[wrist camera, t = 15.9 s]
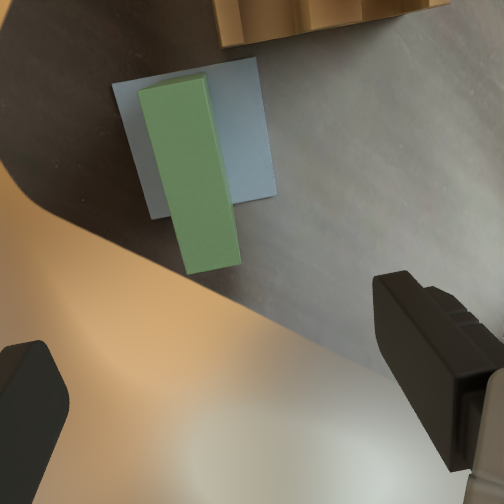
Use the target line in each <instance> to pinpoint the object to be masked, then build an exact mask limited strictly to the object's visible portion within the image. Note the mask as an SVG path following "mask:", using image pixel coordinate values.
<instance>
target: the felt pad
mask: <svg viewBox="0 0 504 504" xmlns="http://www.w3.org/2000/svg"><path fill="white" fill-rule="evenodd" d="M201 72H206V75H207V80H208V85H209V89H210V94H211V99H212V104H213V109H214V114H215V119H216V124H217V129H218V134H219V138H220V143H221V148H222V153H223V158H224V163H225V168H226V173H227V178H228V182H229V187H230V192H231V197H232V204H235V203H240V202H246V201H251V200H256V199H261V198H266V197H271V196H277V191H276V185H275V178H274V172H273V165H272V159H271V152H270V145H269V139H268V132H267V126H266V119H265V113H264V106H263V100H262V93H261V87H260V80H259V73H258V67H257V60H256V57H251V58H245V59H240V60H235V61H230V62H224V63H219V64H214V65H209V66H203V67H198V68H193V69H188V70H182V71H177V72H172V73H167V74H162V75H156V76H151V77H146V78H141V79H135V80H130V81H125V82H120V83H114V84H112V87H113V91H114V94H115V97H116V101H117V104H118V108H119V111H120V114H121V118H122V121H123V125H124V128H125V131H126V135H127V138H128V142H129V145H130V148H131V152H132V155H133V159H134V162H135V165H136V169H137V172H138V176H139V179H140V182H141V186H142V189H143V193H144V196H145V199H146V203H147V206H148V210H149V213H150V216H151V219H152V220H153V219H158V218H163V217H168V216H171V215H170V211H169V207H168V204H167V200H166V197H165V193H164V189H163V186H162V182H161V178H160V175H159V171H158V167H157V164H156V160H155V156H154V153H153V149H152V146H151V142H150V138H149V135H148V131H147V127H146V124H145V120H144V116H143V113H142V109H141V105H140V102H139V98H138V95H137V91H138V90H141V89H143V88H146V87H148V86H150V85H153V84H155V83H158V82H160V81H162V80H165V79H170V78H175V77H181V76H186V75H191V74H196V73H201Z"/></svg>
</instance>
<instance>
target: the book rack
mask: <svg viewBox="0 0 504 504" xmlns="http://www.w3.org/2000/svg"><path fill="white" fill-rule="evenodd" d="M211 1H212V7H213V12H214V18H215V23H216V28H217V34H218V39H219V45H220V49H226V48H231V47H236V46H241V45H247V44H252V43H257V42H262V41H268V40H273V39H278V38H283V37H289V36H294V35H299V34H304V33H310V32H315V31H320V30H325V29H331V28H336V27H341V26H346V25H352V24H357V23H362V22H367V21H372V20H378V19H383V18H388V17H393V16H399V15H404V14H409V13H413V12H417V11H421V10H425V9H430V8H434V7H438V6H442V5H447V4H449V3H450V0H362V1H361V0H211Z"/></svg>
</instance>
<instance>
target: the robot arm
mask: <svg viewBox="0 0 504 504" xmlns="http://www.w3.org/2000/svg"><path fill="white" fill-rule="evenodd" d="M372 287H373V306H374V324H375V335H376V339H377V343H378V346H379V349H380V352H381V354H382V356H383V358H384V359H385V361H386V363H387V364H388V366H389V368H390V370H391V371H392V373H393V375H394V376H395V378H396V380H397V382H398V383H399V385H400V387H401V388H402V390H403V392H404V394H405V395H406V397H407V399H408V401H409V402H410V404H411V406H412V408H413V409H414V411H415V413H416V414H417V416H418V418H419V419H420V421H421V423H422V425H423V427H424V428H425V430H426V432H427V433H428V435H429V437H430V439H431V440H432V442H433V444H434V446H435V447H436V449H437V451H438V452H439V454H440V456H441V458H442V459H443V461H444V462H445V465H446V466H447V468H448V470H449V471H450V472H456V471H461V470H466V469H471V471H472V473H471V474H469V477H468V481H467V486H466V491H465V497H464V502H463V504H504V344H502V343H501V342H500V341H499V340H498V339H497V338H496V337H495V336H494V335H493V334H492V333H491V332H490V331H489V330H488V329H487V328H486V327H485V326H484V325H483V324H482V323H479V320H478V319H477V318H476V317H475V316H474V315H473V314H472V313H471V312H468V311H467V309H466V308H465V307H464V306H463V305H462V304H461V303H460V302H459V301H458V300H457V299H456V298H455V297H454V296H453V295H451V294H449V293H446V292H444V291H442V290H440V289H438V288H436V287H434V286H431V287H426V288H423V287H422V286H421V285H420V284H419V283H418V282H417V281H416V280H415V279H414V277H413V276H412V275H411V274H410V273H409V272H408V271H406V270H404V271H399V272H393V273H388V274H383V275H378V276H374V278H373V283H372ZM68 412H69V394H68V390H67V387H66V385H65V383H64V381H63V379H62V377H61V374H60V372H59V371H58V368H57V366H56V364H55V362H54V359H53V357H52V355H51V353H50V351H49V349H48V347H47V345H46V344H45V343H44V342H43V341H41V340H36V341H31V342H27V343H21V344H16V345H11V346H7V347H5V348H4V349H3V350H2V351H1V353H0V504H32V502H33V499H34V497H35V494H36V492H37V489H38V487H39V484H40V482H41V480H42V477H43V475H44V472H45V470H46V467H47V465H48V462H49V460H50V457H51V455H52V453H53V450H54V448H55V445H56V443H57V440H58V438H59V435H60V433H61V430H62V428H63V425H64V423H65V420H66V418H67V415H68Z"/></svg>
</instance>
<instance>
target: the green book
mask: <svg viewBox="0 0 504 504" xmlns="http://www.w3.org/2000/svg"><path fill="white" fill-rule="evenodd" d="M137 95H138V98H139V102H140V105H141V109H142V113H143V116H144V120H145V124H146V127H147V131H148V135H149V138H150V142H151V146H152V149H153V153H154V156H155V160H156V164H157V167H158V171H159V175H160V178H161V182H162V186H163V189H164V193H165V197H166V200H167V204H168V207H169V211H170V215H171V218H172V222H173V226H174V229H175V233H176V237H177V240H178V244H179V248H180V251H181V255H182V258H183V262H184V266H185V269H186V273H187V275H188V274H193V273H198V272H204V271H209V270H214V269H219V268H224V267H229V266H234V265H239V264H241V258H240V251H239V244H238V237H237V231H236V224H235V217H234V210H233V204H232V197H231V192H230V187H229V182H228V178H227V173H226V168H225V163H224V158H223V153H222V148H221V143H220V138H219V134H218V129H217V124H216V119H215V114H214V109H213V104H212V99H211V94H210V89H209V85H208V80H207V75H206V72H201V73H196V74H191V75H186V76H181V77H175V78H170V79H165V80H162V81H160V82H158V83H155V84H153V85H150V86H148V87H146V88H143V89H141V90H138V91H137Z"/></svg>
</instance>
